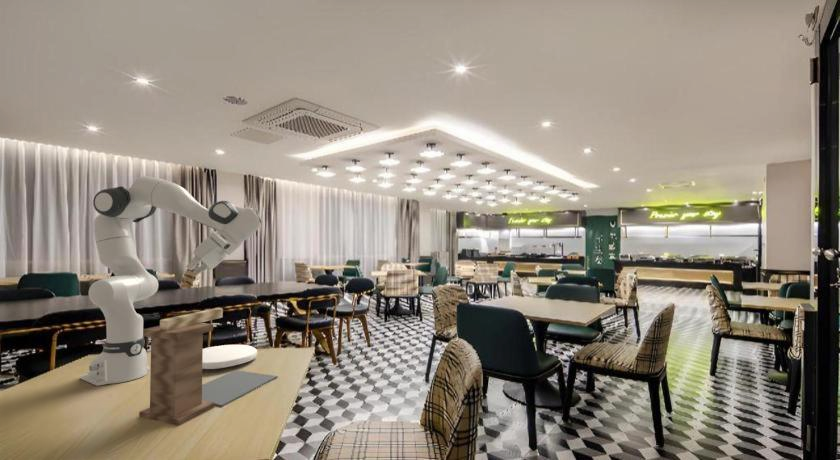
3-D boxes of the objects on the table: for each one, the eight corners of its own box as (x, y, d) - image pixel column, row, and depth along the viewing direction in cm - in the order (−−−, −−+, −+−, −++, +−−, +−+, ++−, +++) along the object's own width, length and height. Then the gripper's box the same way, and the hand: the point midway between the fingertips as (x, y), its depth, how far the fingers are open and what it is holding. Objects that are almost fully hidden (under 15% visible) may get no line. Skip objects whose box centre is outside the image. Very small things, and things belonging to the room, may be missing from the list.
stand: (139, 416, 112) (140, 329, 112) (176, 400, 123) (177, 320, 124) (179, 425, 107) (180, 333, 107) (214, 407, 118) (215, 324, 119)
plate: (219, 340, 177) (270, 344, 172) (218, 355, 176) (269, 359, 171) (169, 352, 150) (227, 357, 144) (167, 369, 149) (226, 374, 144)
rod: (167, 330, 110) (167, 320, 110) (159, 330, 111) (160, 319, 111) (222, 317, 129) (222, 308, 129) (215, 316, 130) (216, 308, 130)
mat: (174, 398, 125) (174, 396, 125) (235, 371, 149) (235, 370, 149) (222, 406, 118) (222, 404, 118) (277, 377, 143) (277, 376, 143)
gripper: (221, 245, 147) (191, 271, 141) (211, 230, 128) (176, 259, 122) (234, 255, 147) (204, 282, 141) (225, 242, 128) (191, 271, 122)
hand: (191, 271), depth 131 cm, fingers open, 8 cm apart
